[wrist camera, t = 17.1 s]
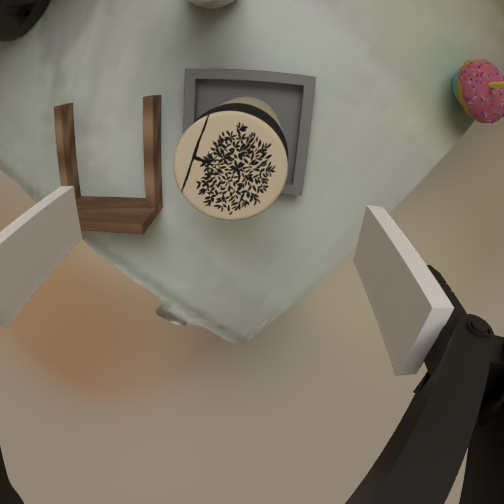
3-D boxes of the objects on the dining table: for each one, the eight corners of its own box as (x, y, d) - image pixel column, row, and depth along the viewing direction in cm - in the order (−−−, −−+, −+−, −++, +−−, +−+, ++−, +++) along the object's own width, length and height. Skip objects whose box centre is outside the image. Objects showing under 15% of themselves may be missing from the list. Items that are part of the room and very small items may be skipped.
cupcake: (429, 79, 31) (484, 86, 20) (464, 47, 27) (521, 47, 17) (463, 129, 33) (517, 152, 23) (495, 96, 30) (551, 111, 20)
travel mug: (292, 117, 34) (315, 148, 19) (258, 172, 38) (251, 243, 22) (233, 84, 32) (203, 85, 17) (201, 141, 36) (151, 190, 21)
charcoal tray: (190, 69, 32) (185, 68, 30) (312, 77, 32) (315, 76, 30) (187, 180, 40) (183, 186, 37) (299, 188, 40) (301, 195, 37)
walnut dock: (66, 103, 34) (31, 113, 27) (161, 95, 34) (136, 99, 27) (75, 203, 42) (47, 227, 35) (162, 207, 42) (143, 234, 35)
